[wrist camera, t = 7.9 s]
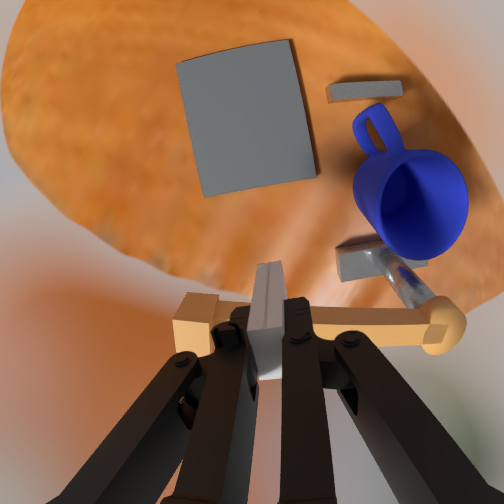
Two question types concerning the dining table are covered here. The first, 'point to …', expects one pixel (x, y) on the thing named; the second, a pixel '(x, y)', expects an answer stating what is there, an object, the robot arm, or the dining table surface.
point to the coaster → (246, 118)
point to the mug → (408, 191)
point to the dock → (378, 253)
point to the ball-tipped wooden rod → (333, 323)
